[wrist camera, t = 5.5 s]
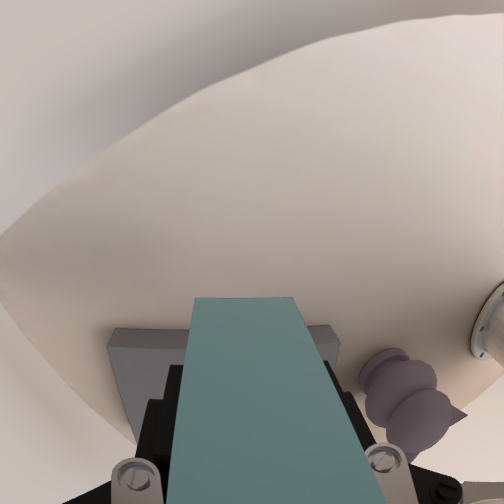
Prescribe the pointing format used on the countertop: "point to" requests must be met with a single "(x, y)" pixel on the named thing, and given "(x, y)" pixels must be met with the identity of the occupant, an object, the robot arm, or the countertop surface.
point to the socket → (163, 355)
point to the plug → (262, 414)
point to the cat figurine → (406, 401)
